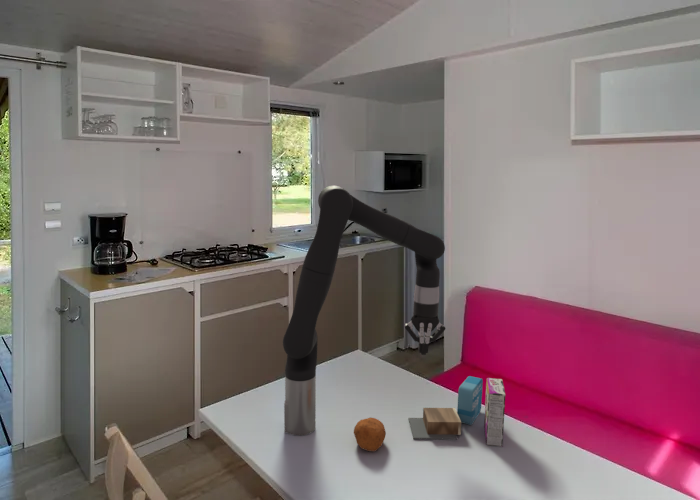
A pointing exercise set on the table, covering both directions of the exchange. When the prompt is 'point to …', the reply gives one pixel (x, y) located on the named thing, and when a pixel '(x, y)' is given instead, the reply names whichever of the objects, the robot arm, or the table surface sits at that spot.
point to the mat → (421, 433)
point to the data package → (469, 399)
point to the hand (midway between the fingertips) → (423, 353)
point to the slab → (442, 421)
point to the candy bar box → (494, 412)
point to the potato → (369, 434)
